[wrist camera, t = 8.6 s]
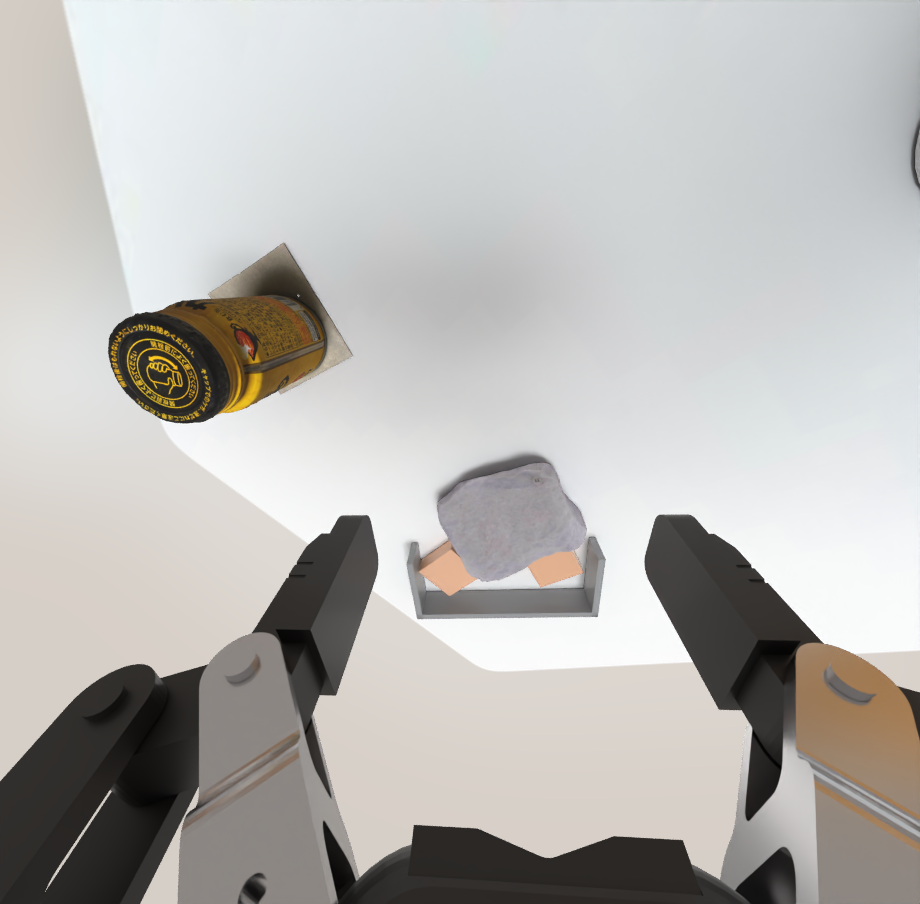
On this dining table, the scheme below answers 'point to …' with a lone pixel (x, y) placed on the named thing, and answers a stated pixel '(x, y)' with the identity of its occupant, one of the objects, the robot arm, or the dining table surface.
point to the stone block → (510, 520)
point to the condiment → (227, 344)
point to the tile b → (555, 568)
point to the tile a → (445, 569)
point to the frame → (510, 596)
